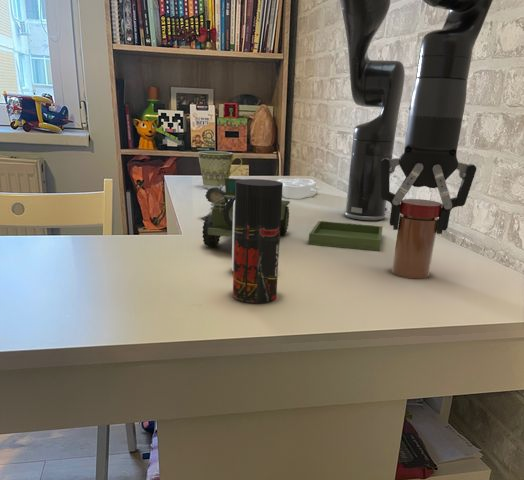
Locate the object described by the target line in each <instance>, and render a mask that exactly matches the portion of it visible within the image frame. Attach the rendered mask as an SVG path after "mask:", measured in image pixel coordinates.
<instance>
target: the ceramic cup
mask: <svg viewBox="0 0 524 480" xmlns="http://www.w3.org/2000/svg"><path fill="white" fill-rule="evenodd" d="M197 154H198V161H199V167H200V172H201V178H202V185H203V189H206V190H209V189H211V188H214V187H215V188H216V187H217V188H220V185H222V187H223V186H224V185H225V179H224V178H230V176H232V174H233V173H234V172H235V171H236V170H238V169H239V168H240V167H241V166H242V164H243V163H244V162H243V158H242V157H241V156H238V155H236V156H234V153H233V152H229V151H221V150H220V151H219V150H200V151H198V152H197ZM236 159H239V160H240V163H239V165H237V166H235V167H234V168H233V170H232V171H231V168H232V167H231V166H232V164H233V162H234V161H235V160H236ZM222 187H221V188H222ZM221 188H220V189H221Z"/></svg>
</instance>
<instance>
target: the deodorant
mask: <svg viewBox="0 0 524 480" xmlns="http://www.w3.org/2000/svg"><path fill="white" fill-rule="evenodd" d="M241 179H242V180H237V181H235V222H234V266H233V271H232V272H233V273H232V274H233V276H232V297H233V299H235V300H236V301H239V302H241V303H247V304H267V303H272V302H274V301H275V300H276V299H277V291H278V276H279V275H278V274H279V257H280V255H279V254H280V238H281V234H280V222H281V205H282V200H283V196H282V187H283V183H282V182H279V181H277V180H272V179H263V178H262V179H260V178H241Z"/></svg>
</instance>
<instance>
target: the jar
mask: <svg viewBox="0 0 524 480" xmlns="http://www.w3.org/2000/svg"><path fill="white" fill-rule="evenodd" d="M438 219H439V217H437V218H418V217H411V216H406V215H403V214H401V213H400V217H399V224H398V230H397V233H396V241H395V247H394V254H393V262H392V268H391V273H392V274H393V275H395V276H398V277H402V278H406V279H416V280H417V279H426V278H428V277H429V276H430V271H431V265H432V259H433V252H434V247H435V241H436V235H437V232H436V231H437V225H438Z"/></svg>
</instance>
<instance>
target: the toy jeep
mask: <svg viewBox="0 0 524 480" xmlns="http://www.w3.org/2000/svg"><path fill="white" fill-rule="evenodd" d="M224 179H225V191H226V195H224V197H223V198H221V199H220V200H218V201H216V202H214V203H210V206H211V207H210V210H211V211H212V215H207V214H206V215H205V216H206V218H205V219H204V221H203V225H202V242H203V244H204V245H205V246H207V247H211V248H213V247H218V245H219V242H220V240H221V239H220V238H221V237H227V238H232V233H233V204H234V201H235V181H237V180H242V179H243V178H231V177H229V178H224ZM223 199H225V201H222V202H220V203H218V204H216V203H217V202H219V201H221V200H223ZM223 202H224V203H223ZM290 203H291V200H285V199H284V200H283V199H282V205H281V222H280V235H287V232H288V228H289V222H290V209H289V206H288V205H290Z"/></svg>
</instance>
